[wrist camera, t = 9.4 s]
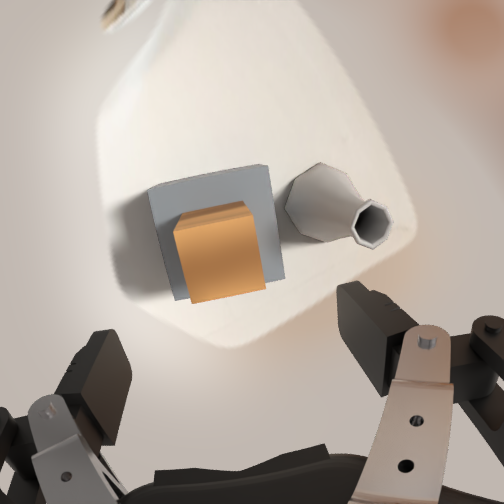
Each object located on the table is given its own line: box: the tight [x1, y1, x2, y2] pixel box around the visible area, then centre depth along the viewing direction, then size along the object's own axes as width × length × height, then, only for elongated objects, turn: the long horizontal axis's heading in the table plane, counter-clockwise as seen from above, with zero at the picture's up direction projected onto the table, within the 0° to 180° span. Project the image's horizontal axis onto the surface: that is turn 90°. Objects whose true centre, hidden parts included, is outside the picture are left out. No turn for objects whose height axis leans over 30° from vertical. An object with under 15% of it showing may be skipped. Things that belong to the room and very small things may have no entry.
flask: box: [284, 162, 394, 249], centre depth 25 cm, size 7×7×10 cm
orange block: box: [173, 201, 266, 304], centre depth 21 cm, size 4×4×6 cm
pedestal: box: [147, 164, 285, 301], centre depth 26 cm, size 9×9×5 cm
